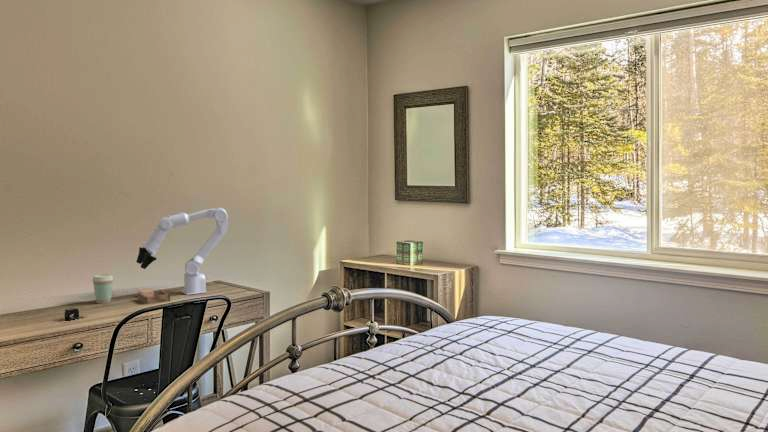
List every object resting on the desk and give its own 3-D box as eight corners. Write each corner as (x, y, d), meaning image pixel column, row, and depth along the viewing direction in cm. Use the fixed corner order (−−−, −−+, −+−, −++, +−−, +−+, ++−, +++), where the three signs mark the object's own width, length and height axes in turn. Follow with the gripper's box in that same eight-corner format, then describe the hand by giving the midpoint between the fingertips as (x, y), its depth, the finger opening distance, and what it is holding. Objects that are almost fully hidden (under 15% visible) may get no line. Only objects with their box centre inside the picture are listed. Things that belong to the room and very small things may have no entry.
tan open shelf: (162, 296, 278) (161, 290, 278) (170, 300, 270) (170, 294, 270) (137, 299, 272) (137, 293, 271) (145, 304, 263) (145, 297, 263)
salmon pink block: (150, 295, 283) (150, 289, 283) (154, 297, 278) (153, 291, 278) (139, 296, 280) (139, 290, 279) (142, 298, 275) (142, 292, 275)
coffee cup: (117, 300, 270) (117, 274, 269) (107, 304, 262) (106, 277, 261) (100, 299, 271) (99, 273, 270) (88, 304, 262) (88, 277, 261)
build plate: (80, 315, 244) (79, 304, 244) (92, 317, 241) (91, 306, 241) (51, 322, 233) (51, 311, 233) (63, 324, 230) (63, 313, 230)
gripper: (143, 232, 284) (128, 257, 282) (152, 241, 272) (136, 267, 271) (156, 238, 288) (142, 263, 287) (165, 247, 277) (150, 272, 276)
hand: (140, 265), depth 279 cm, fingers open, 7 cm apart
